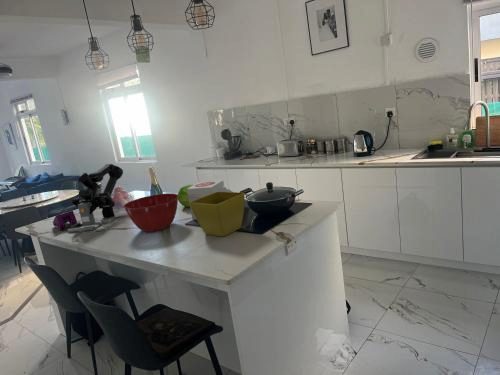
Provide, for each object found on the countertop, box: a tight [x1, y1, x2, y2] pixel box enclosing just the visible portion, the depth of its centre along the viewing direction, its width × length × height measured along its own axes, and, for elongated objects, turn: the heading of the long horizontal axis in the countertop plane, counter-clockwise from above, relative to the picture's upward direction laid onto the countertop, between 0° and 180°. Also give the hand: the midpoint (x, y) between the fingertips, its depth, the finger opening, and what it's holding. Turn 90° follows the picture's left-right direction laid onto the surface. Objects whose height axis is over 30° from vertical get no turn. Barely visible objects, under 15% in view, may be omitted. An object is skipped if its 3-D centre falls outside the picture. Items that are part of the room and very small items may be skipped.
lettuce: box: [177, 184, 194, 208], centre depth 229 cm, size 15×22×15 cm
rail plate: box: [67, 220, 103, 234], centre depth 218 cm, size 16×10×3 cm, turn 81°
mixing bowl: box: [123, 193, 179, 233], centre depth 197 cm, size 28×28×15 cm
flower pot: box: [190, 191, 245, 237], centre depth 175 cm, size 19×19×17 cm
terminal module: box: [77, 202, 96, 226], centre depth 216 cm, size 5×6×13 cm
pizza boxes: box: [187, 180, 233, 221], centre depth 207 cm, size 19×30×18 cm, turn 139°
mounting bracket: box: [52, 210, 78, 231], centre depth 230 cm, size 10×9×19 cm
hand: (85, 214), depth 215 cm, fingers closed on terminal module, 5 cm apart
